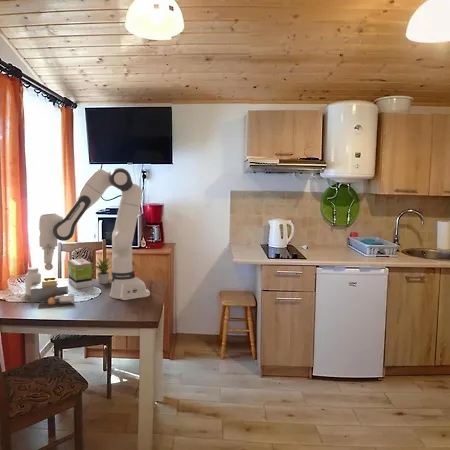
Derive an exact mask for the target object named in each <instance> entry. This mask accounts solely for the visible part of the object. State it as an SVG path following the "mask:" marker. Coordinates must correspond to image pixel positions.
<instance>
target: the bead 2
mask: <svg viewBox="0 0 450 450" xmlns="http://www.w3.org/2000/svg"><path fill="white" fill-rule="evenodd" d="M56 302H57V301H56V300H55V298H53V297H51V298H49V299H48V302H47V303H48V304H49V305H54V304H55V303H56Z"/></svg>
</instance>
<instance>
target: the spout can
mask: <svg viewBox="0 0 450 450" xmlns="http://www.w3.org/2000/svg"><path fill="white" fill-rule="evenodd" d="M74 297H75V294H74V293H71V294H69V293H68V295H59V296H55V300H59V301H58V302H59V305H64V304H74V305H75V298H74Z"/></svg>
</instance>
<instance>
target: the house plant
mask: <svg viewBox="0 0 450 450" xmlns="http://www.w3.org/2000/svg"><path fill="white" fill-rule="evenodd" d="M97 260H98V261H99V262H98V261H95V260H94V263H96V264H97V265H93V264H92V267H94V268H93V271H96V270H98V271H99V272H97V276H98V283H99V284H101V285H106V284H108V282H109V277H110V272H109V271H108V270H109V269H111V268H112V266H111V267H110V264H112V262H111V261H112V260H110V257H108V258H106V259H105V257H104V258H103V260H102V259H100V258H99V257H97Z"/></svg>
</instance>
